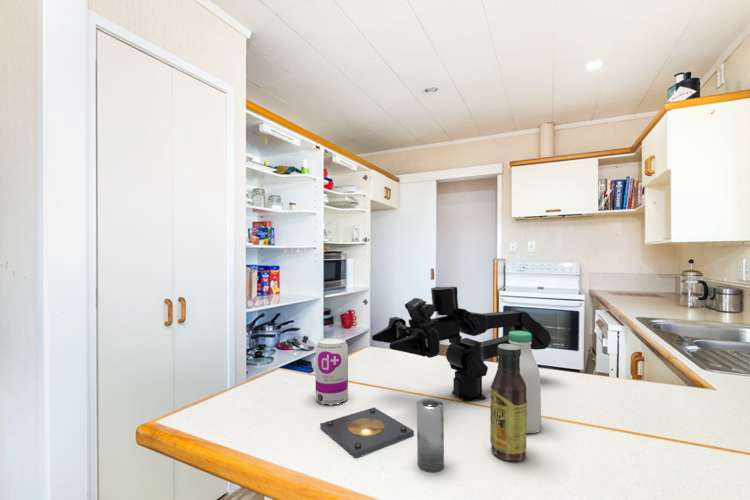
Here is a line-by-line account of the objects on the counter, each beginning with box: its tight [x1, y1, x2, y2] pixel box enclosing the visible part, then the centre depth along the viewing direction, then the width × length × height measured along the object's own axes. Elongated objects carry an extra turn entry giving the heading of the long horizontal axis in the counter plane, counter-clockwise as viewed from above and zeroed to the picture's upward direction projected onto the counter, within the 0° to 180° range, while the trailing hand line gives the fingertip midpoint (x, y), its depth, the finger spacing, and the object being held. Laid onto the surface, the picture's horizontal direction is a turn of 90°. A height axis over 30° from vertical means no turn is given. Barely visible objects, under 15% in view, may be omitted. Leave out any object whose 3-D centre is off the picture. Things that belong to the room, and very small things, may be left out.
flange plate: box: [319, 407, 415, 459], centre depth 74 cm, size 14×14×1 cm
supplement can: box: [315, 337, 349, 405], centre depth 91 cm, size 8×8×15 cm
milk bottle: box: [508, 330, 542, 434], centre depth 76 cm, size 8×8×20 cm
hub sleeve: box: [416, 398, 445, 474], centre depth 62 cm, size 5×5×11 cm
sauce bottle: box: [489, 344, 527, 462], centre depth 66 cm, size 6×6×20 cm
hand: (380, 342), depth 82 cm, fingers open, 9 cm apart
